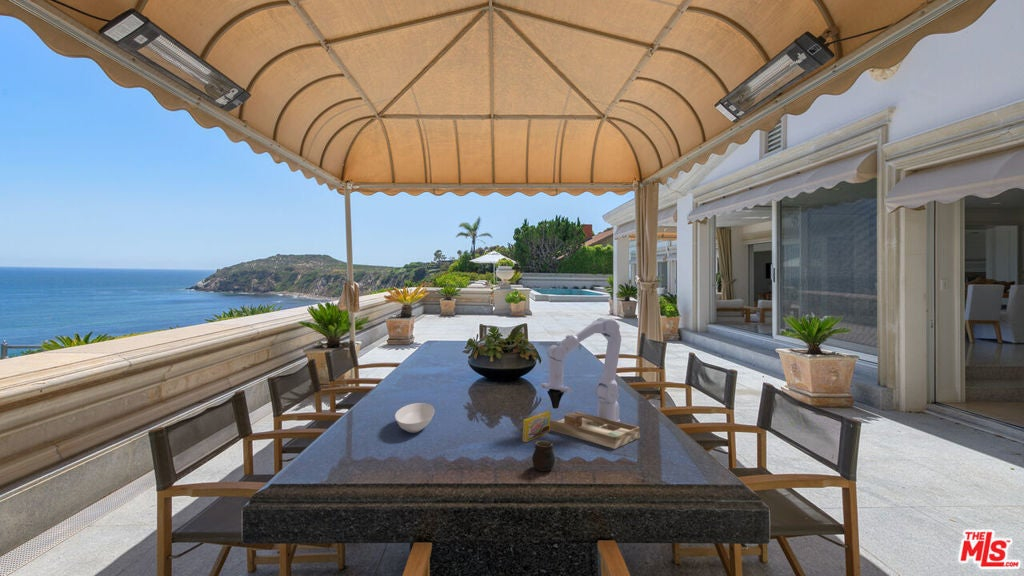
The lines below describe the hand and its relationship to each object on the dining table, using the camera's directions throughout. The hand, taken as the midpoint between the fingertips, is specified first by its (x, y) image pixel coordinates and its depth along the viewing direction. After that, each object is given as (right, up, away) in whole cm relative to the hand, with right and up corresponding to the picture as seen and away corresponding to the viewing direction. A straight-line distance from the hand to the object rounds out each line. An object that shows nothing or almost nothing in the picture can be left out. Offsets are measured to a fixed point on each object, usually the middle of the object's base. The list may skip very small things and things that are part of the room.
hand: (555, 408), depth 189 cm
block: (+6, -5, -6) cm, 10 cm away
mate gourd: (-8, -8, -44) cm, 45 cm away
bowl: (-57, -7, -4) cm, 57 cm away
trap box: (+14, -8, -8) cm, 18 cm away
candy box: (-8, -8, -13) cm, 17 cm away
